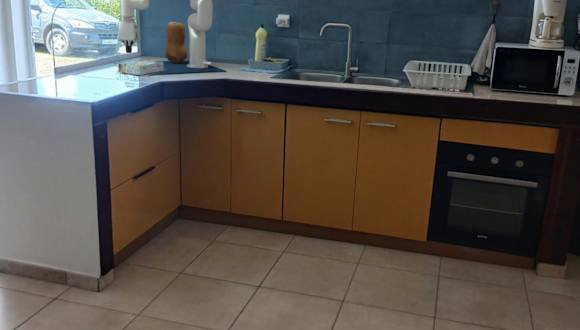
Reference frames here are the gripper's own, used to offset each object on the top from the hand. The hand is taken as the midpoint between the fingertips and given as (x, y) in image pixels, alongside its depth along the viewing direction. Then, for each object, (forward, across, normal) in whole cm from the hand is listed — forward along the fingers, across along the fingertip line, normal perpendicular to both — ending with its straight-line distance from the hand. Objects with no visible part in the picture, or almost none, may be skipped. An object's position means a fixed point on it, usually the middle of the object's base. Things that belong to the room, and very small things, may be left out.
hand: (128, 52), depth 336 cm
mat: (+10, -11, 0) cm, 15 cm away
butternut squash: (+10, -10, -41) cm, 43 cm away
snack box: (+7, -1, +1) cm, 7 cm away
